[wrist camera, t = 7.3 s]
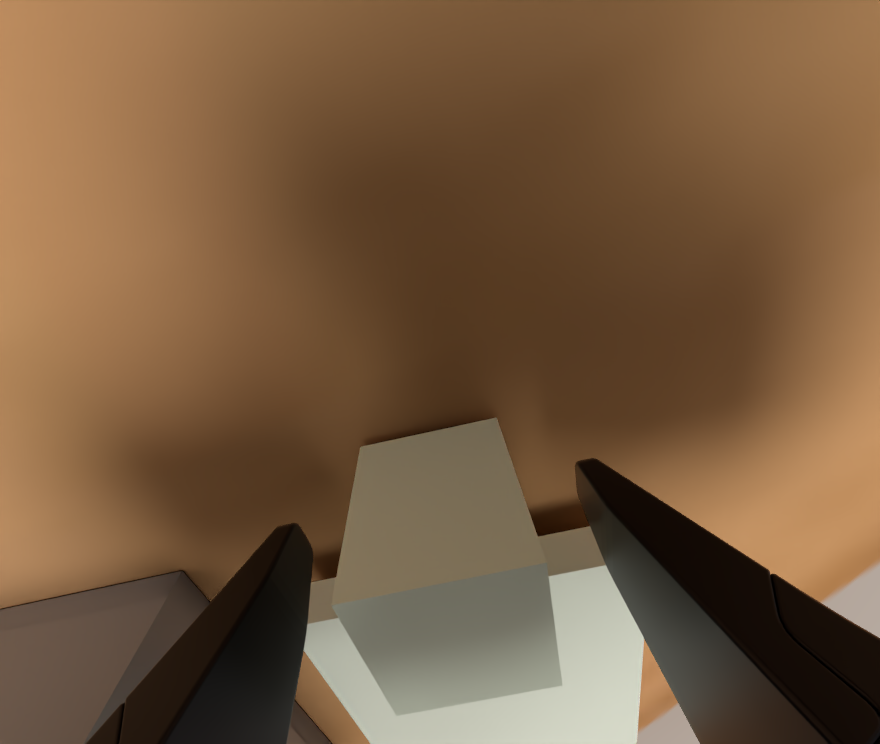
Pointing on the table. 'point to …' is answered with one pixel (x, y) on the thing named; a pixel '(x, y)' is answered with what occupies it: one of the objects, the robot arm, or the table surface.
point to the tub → (95, 658)
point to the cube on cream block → (470, 607)
